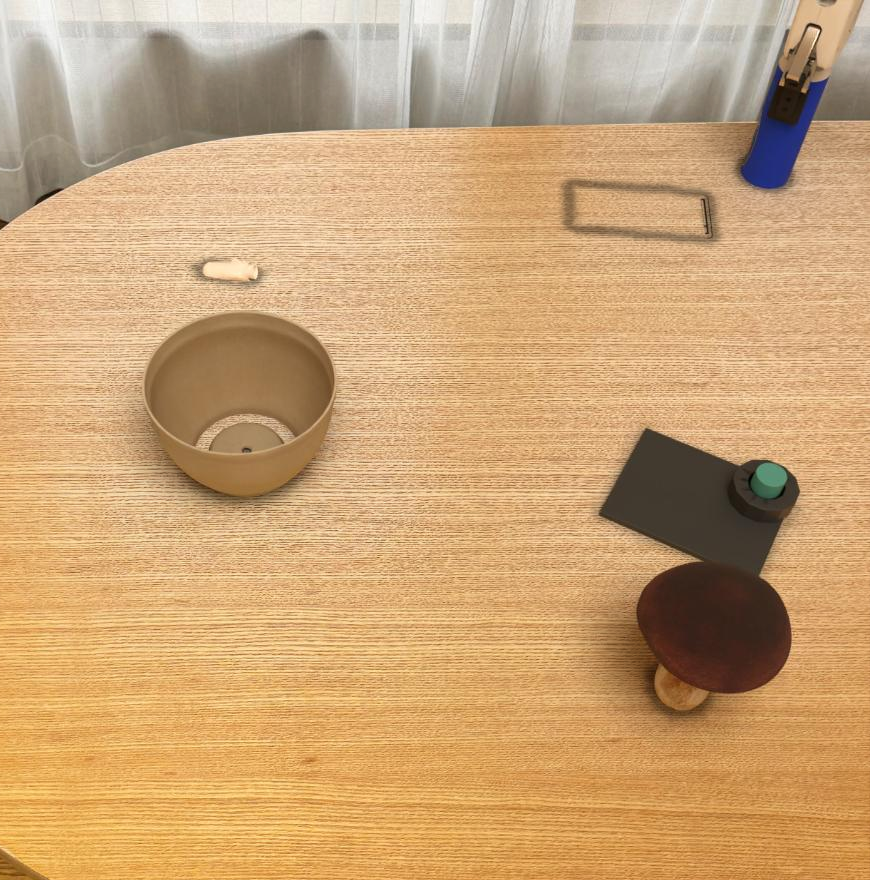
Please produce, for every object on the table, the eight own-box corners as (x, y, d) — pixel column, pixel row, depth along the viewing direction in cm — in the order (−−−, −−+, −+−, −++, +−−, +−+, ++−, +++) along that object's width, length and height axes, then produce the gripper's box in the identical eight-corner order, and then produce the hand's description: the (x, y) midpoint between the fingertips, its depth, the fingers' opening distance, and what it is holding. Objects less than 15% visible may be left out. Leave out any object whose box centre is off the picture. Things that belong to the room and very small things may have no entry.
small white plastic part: (217, 258, 121) (215, 234, 118) (263, 283, 119) (261, 259, 116) (194, 277, 119) (192, 254, 116) (240, 302, 117) (239, 279, 115)
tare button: (784, 482, 101) (791, 470, 100) (775, 503, 100) (782, 491, 98) (755, 470, 102) (761, 458, 100) (745, 491, 100) (752, 478, 99)
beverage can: (755, 160, 131) (800, 37, 119) (794, 182, 129) (844, 58, 117) (728, 181, 129) (771, 57, 117) (768, 203, 127) (816, 79, 115)
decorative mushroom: (594, 639, 95) (635, 532, 83) (726, 632, 96) (786, 525, 84) (623, 764, 89) (672, 668, 77) (764, 755, 90) (835, 659, 77)
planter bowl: (231, 369, 112) (223, 283, 103) (370, 445, 107) (375, 362, 98) (118, 476, 104) (99, 393, 95) (262, 564, 99) (257, 486, 90)
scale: (793, 499, 104) (807, 475, 101) (754, 592, 98) (767, 569, 95) (642, 437, 108) (651, 412, 105) (596, 523, 102) (604, 498, 99)
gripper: (872, -15, 101) (801, 161, 116) (921, -101, 110) (848, 74, 125) (788, -39, 103) (728, 137, 118) (841, -121, 112) (780, 53, 127)
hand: (791, 103), depth 121 cm, fingers closed on beverage can, 5 cm apart
